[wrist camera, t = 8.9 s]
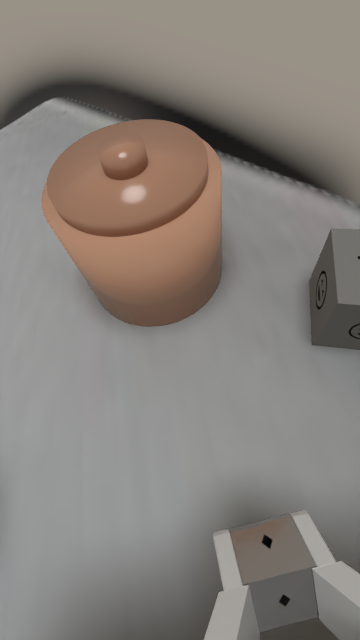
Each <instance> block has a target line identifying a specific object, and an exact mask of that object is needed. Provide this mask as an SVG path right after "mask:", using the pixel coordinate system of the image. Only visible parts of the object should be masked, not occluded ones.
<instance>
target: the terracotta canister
mask: <svg viewBox="0 0 360 640" xmlns="http://www.w3.org/2000/svg"><path fill="white" fill-rule="evenodd" d="M42 209H43V213H44V216H45V218H46V220H47V222H48V223H49V225H50V226H51V228H52V229H53V231H54V233H55V234H56V236H57V237H58V239H59V240H60V242H61V243H62V245H63V246H64V248H65V249H66V251H67V252H68V254H69V255H70V257H71V258H72V260H73V261H74V263H75V265H76V266H77V268H78V269H79V271H80V272H81V274H82V275H83V277H84V278H85V280H86V281H87V283H88V284H89V286H90V287H91V289H92V290H93V292H94V293H95V295H96V296H97V298H98V300H99V301H100V303H101V304H102V305H103V307H104V308H105V309H106V310H107V311H108V312H109V313H110V314H111V315H113V316H114V317H116V318H117V319H119V320H122V321H124V322H126V323H129V324H133V325H138V326H148V327H151V326H162V325H168V324H171V323H175V322H178V321H180V320H183V319H185V318H187V317H189V316H190V315H192V314H194V313H195V312H197V311H198V310H199V309H201V308H202V307H203V306H204V305H205V304H206V303H207V302H208V301H209V299H210V298H211V297H212V296H213V294H214V292H215V291H216V289H217V287H218V284H219V282H220V278H221V270H222V171H221V164H220V161H219V158H218V156H217V154H216V153H215V151H214V150H213V149H212V147H210V145H209V144H207V143H206V142H205V141H204V140H202V139H201V138H200V137H199V136H198V135H196V134H195V133H194V132H193V131H191V130H190V129H188V128H186V127H184V126H182V125H180V124H176V123H172V122H169V121H163V120H148V119H146V120H133V121H126V122H121V123H117V124H113V125H110V126H107V127H104V128H101V129H99V130H96V131H94V132H92V133H90V134H88V135H86V136H84V137H83V138H81V139H79V140H78V141H76V142H75V143H73V144H72V145H71V146H69V147H68V148H67V149H66V150H65V151H64V152H63V153H62V154H61V155H60V156H59V157H58V159H57V160H56V161H55V163H54V164H53V166H52V168H51V170H50V172H49V175H48V179H47V183H46V185H45V187H44V190H43V195H42Z"/></svg>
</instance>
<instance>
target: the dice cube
mask: <svg viewBox="0 0 360 640" xmlns="http://www.w3.org/2000/svg"><path fill="white" fill-rule="evenodd" d="M309 286H310V311H311V335H312V345H318V346H328V347H338V348H348V349H358V350H360V230H355V229H331V231H330V233H329V235H328V238H327V240H326V242H325V245H324V247H323V249H322V252H321V254H320V257H319V259H318V261H317V264H316V266H315V268H314V271H313V273H312V276H311V278H310V280H309Z"/></svg>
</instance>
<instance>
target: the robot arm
mask: <svg viewBox="0 0 360 640" xmlns="http://www.w3.org/2000/svg"><path fill="white" fill-rule="evenodd" d="M229 532H230V533H229ZM213 539H214V544H215V550H216V555H217V560H218V565H219V570H220V575H221V580H222V586H223V591H221V592H218V596H217V599H216V602H215V605H214V608H213V612H212V615H211V618H210V621H209V624H208V628H207V631H206V634H205V637H204V640H260V633H261V632H264V631H268V630H271V629H274V628H278V627H281V626H284V625H288V624H292V623H297V622H301V621H306V620H310V619H315V618H319V619H320V621H321V622H322V623H323V624H324V625H325V626H326V627H327V628H328V629H329V630H330V631H331V632H332V633H333V634H334V635H335V636H336V637H337V638H338V639H339V640H360V574H359V573H358V572H357V571H355V570H354V569H352V568H351V567H349V566H348V565H347V564H345V563H344V562H342V561H338V562H336V560H335V559H334V557H333V555H332V553H331V552H330V550H329V548H328V546H327V545H326V543H325V541H324V539H323V538H322V536H321V534H320V532H319V531H318V529H317V527H316V526H315V524H314V522H313V520H312V519H311V517H310V515H309V513H308V512H307V511H306V510H301V511H297V512H293V513H290V514H284V515H280V516H276V517H273V518H269V519H265V520H261V521H259V522H256V523H252V524H247V525H242V526H238V527H233V528H229V530H228V529H225V530H220V531H216V532H213Z"/></svg>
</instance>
